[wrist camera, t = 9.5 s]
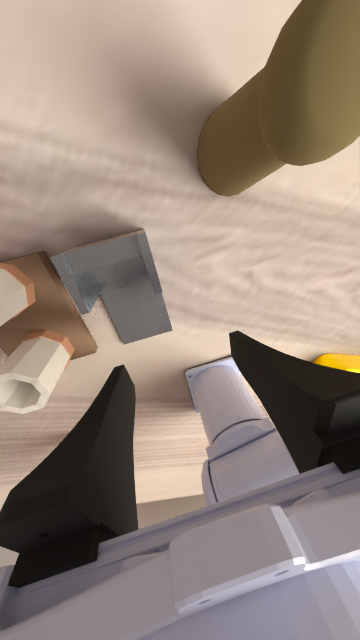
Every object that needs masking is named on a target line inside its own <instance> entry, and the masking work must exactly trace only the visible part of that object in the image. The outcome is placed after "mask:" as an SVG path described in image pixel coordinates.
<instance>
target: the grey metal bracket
mask: <svg viewBox="0 0 360 640" xmlns="http://www.w3.org/2000/svg"><path fill="white" fill-rule="evenodd" d="M50 259H51V261H52V263H53V265H54V266H55V268H56V270H57V272H58V274H59V275H60V277H61V279H62V281H63V283H64V284H65V286H66V288H67V290H68V291H69V293H70V295H71V297H72V299H73V300H74V302H75V304H76V306H77V308H78V309H79V311H80V313H81V315H82V314H86V313H89V312H90V311H91V309H92V307H93V305H94V304H95V302H96V300H97V298H98V297H99V295H101V297H102V300H103V302H104V304H105V306H106V308H107V310H108V312H109V314H110V317H111V319H112V321H113V323H114V325H115V327H116V329H117V331H118V334H119V336H120V338H121V340H122V342H123V344H128V343H131V342H134V341H138V340H141V339H145V338H148V337H151V336H155V335H158V334H162V333H165V332H169V331H172V327H171V324H170V320H169V317H168V313H167V310H166V306H165V303H164V300H163V296H162V293H161V292H162V289H161V285H160V282H159V278H158V275H157V272H156V268H155V265H154V261H153V258H152V254H151V251H150V247H149V244H148V240H147V237H146V233H145V230H144V229H142V230H138V231H134V232H130V233H126V234H123V235H119V236H115V237H111V238H107V239H103V240H100V241H96V242H92V243H88V244H84V245H81V246H77V247H75V248H72V249H70V250H67V251H65V252H62V253H60V254H57V255H55V256H52V257H50Z"/></svg>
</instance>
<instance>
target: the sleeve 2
mask: <svg viewBox="0 0 360 640" xmlns="http://www.w3.org/2000/svg"><path fill="white" fill-rule="evenodd" d="M74 350H75V349H74V348H73V346H72V345H71V343H70V342H69V340H68V338H67V337H66V336H64V335H61V334H58V333H56V332H53V331H50V330H43V331H39V332H36V333H32V334H29V335H28V336H27V337H26V338H25V339H24V340H23V341H22V342H21V344H20V345H19V346H18V347H17V348H16V349H15V351H14V352H13V353H12V354H11V355H10V356H9V357H8V358H7V359H6V360H5V361H4V362H3V363H2V364H1V365H0V410H3V411H9V412H15V413H20V414H25V413H28V412H31V411H35V410H38V409H41V408H44V406H45V404H46V403H47V401H48V399H49V397H50V395H51V393H52V391H53V389H54V387H55V385H56V383H57V381H58V380H59V378H60V376H61V374H62V372H63V370H64V369H65V368H66V366H67V364H68V363H69V360H70V358H71V356H72V354H73V352H74Z"/></svg>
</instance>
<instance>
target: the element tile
mask: <svg viewBox="0 0 360 640" xmlns="http://www.w3.org/2000/svg"><path fill="white" fill-rule="evenodd" d="M313 363H316V364H319V365H324V366H328V367H332V368H337V369H342V370H347V371H353V372H359V373H360V356H359V355H345V354H330V353H329V354H324V355H321V356H319V357H318V358H317V359H316V360H315V361H314V362H313Z"/></svg>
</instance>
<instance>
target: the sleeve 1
mask: <svg viewBox="0 0 360 640" xmlns="http://www.w3.org/2000/svg"><path fill="white" fill-rule="evenodd" d="M35 301H36V299H35V292H34V284H33V281H31V280H30V279H29V278H28V277H27V276H26V275H25V274H23V273H22V272H21V271H20V270H19V269H18V268H17V267H15V266H14V265H11V264H4V263H0V326H2V325H3V324H4V323H6V322H7V321H8V320H10V319H11V318H14V317H16V316H17V315H18V314H20V313H21V312H22V311H24V310H25V309H26V308H27V307H29V306H30V305H31V304H33V303H34V302H35Z"/></svg>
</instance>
